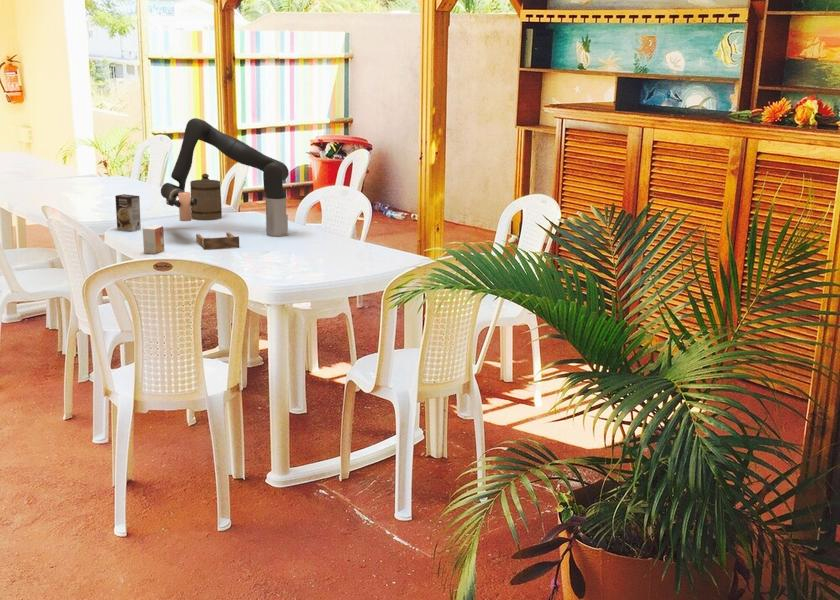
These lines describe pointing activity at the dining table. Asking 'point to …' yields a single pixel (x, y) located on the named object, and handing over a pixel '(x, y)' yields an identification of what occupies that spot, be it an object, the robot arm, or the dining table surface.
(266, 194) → the robot arm
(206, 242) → the keyhole track
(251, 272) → the dining table surface
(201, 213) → the wooden container
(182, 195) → the salmon orange cylinder
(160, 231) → the small box
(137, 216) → the coffee box
